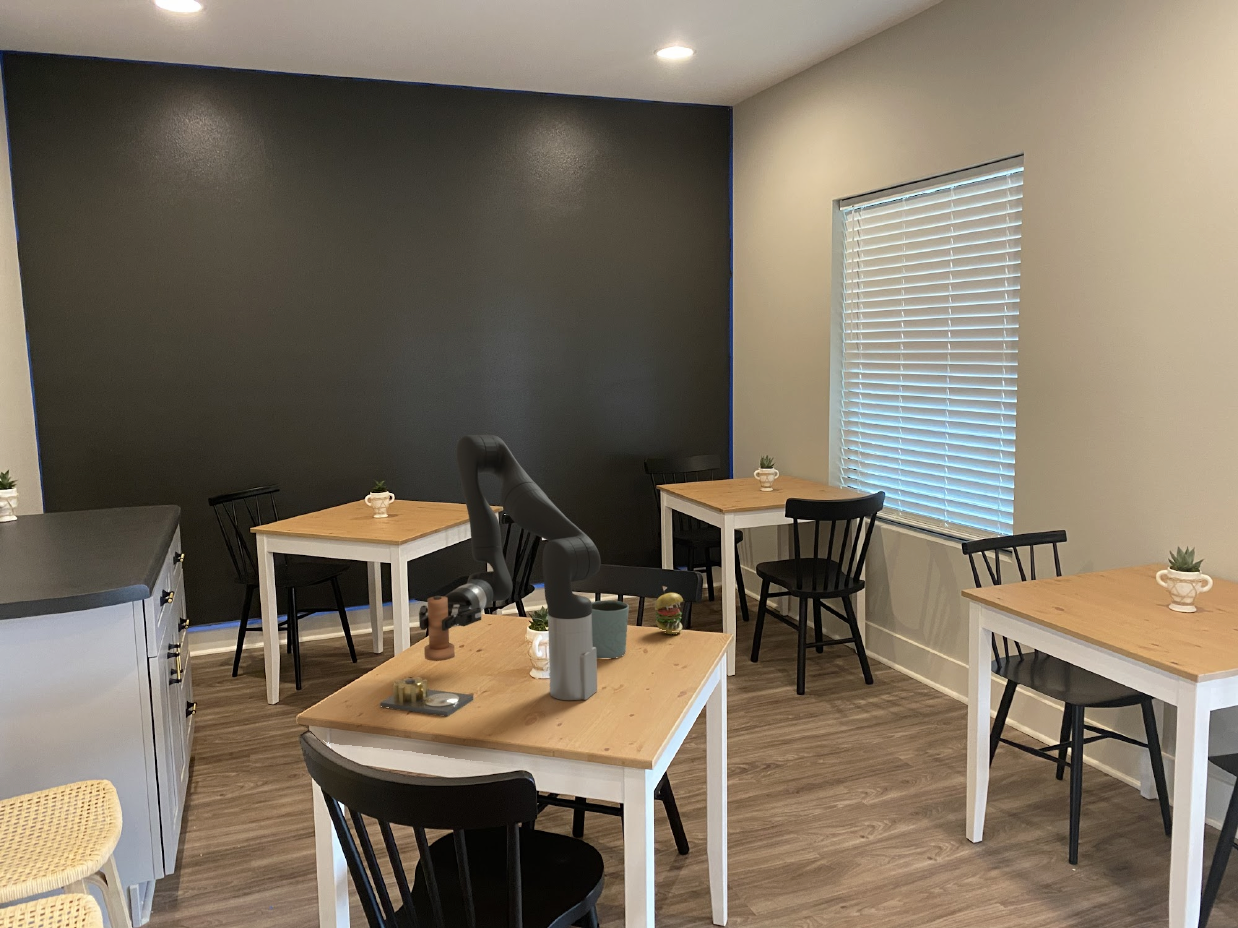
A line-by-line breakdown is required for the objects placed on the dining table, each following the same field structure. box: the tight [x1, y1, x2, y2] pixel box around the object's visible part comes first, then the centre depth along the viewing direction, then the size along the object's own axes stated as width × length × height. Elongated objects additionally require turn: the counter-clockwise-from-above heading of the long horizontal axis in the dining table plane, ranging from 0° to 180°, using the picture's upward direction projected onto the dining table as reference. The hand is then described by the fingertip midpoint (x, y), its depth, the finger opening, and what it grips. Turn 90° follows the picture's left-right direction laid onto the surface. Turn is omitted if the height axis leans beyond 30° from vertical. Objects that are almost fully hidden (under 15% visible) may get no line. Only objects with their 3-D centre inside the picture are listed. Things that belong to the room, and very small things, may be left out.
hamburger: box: [654, 585, 684, 635], centre depth 237 cm, size 8×7×12 cm
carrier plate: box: [379, 688, 474, 717], centre depth 188 cm, size 16×10×1 cm, turn 69°
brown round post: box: [423, 595, 456, 662], centre depth 186 cm, size 6×6×12 cm
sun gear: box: [392, 676, 428, 702], centre depth 190 cm, size 7×7×3 cm
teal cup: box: [591, 600, 630, 659], centre depth 219 cm, size 10×10×12 cm
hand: (433, 625), depth 183 cm, fingers closed on brown round post, 4 cm apart
